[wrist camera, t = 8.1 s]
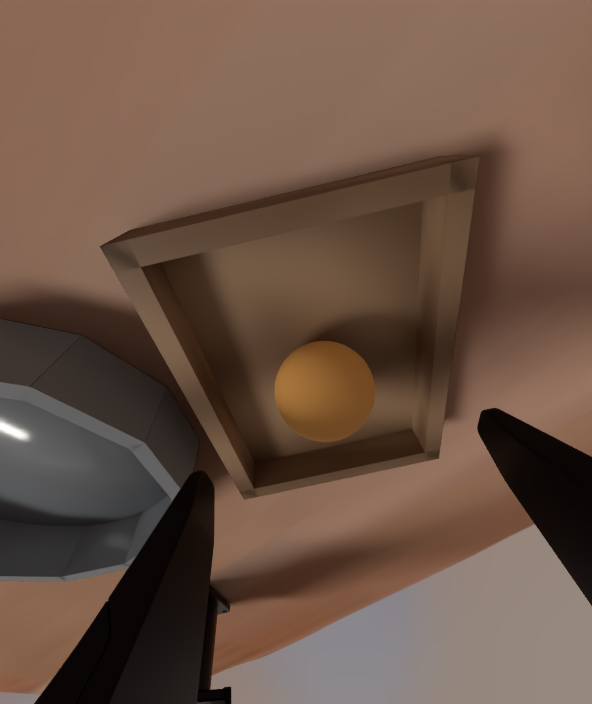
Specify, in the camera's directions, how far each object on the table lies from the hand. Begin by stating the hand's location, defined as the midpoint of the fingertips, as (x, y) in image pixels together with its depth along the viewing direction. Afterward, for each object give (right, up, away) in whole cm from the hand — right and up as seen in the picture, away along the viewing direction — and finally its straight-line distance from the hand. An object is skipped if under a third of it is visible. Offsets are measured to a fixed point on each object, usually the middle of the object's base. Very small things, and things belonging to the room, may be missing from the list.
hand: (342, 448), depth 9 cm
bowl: (-15, -2, +6) cm, 16 cm away
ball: (-1, +3, +4) cm, 5 cm away
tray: (-1, +3, +5) cm, 6 cm away
